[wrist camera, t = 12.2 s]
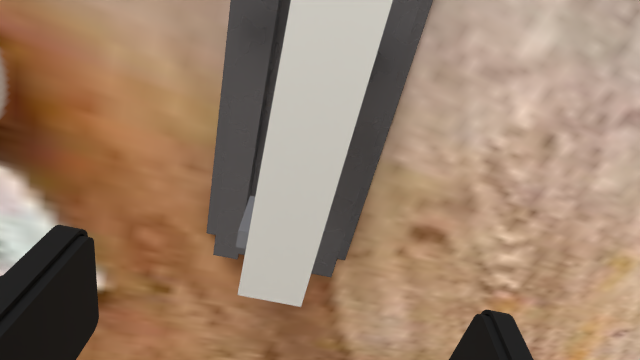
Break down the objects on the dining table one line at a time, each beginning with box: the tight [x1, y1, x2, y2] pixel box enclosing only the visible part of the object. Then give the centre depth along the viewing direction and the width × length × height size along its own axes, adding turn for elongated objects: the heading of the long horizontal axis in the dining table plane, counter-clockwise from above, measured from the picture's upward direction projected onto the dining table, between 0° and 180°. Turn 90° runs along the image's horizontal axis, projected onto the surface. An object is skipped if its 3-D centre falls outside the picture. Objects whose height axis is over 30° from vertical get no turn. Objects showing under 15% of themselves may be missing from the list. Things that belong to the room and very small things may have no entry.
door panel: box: [236, 0, 393, 307], centre depth 19 cm, size 4×14×9 cm, turn 167°
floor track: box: [207, 0, 433, 277], centre depth 23 cm, size 10×23×3 cm, turn 167°
